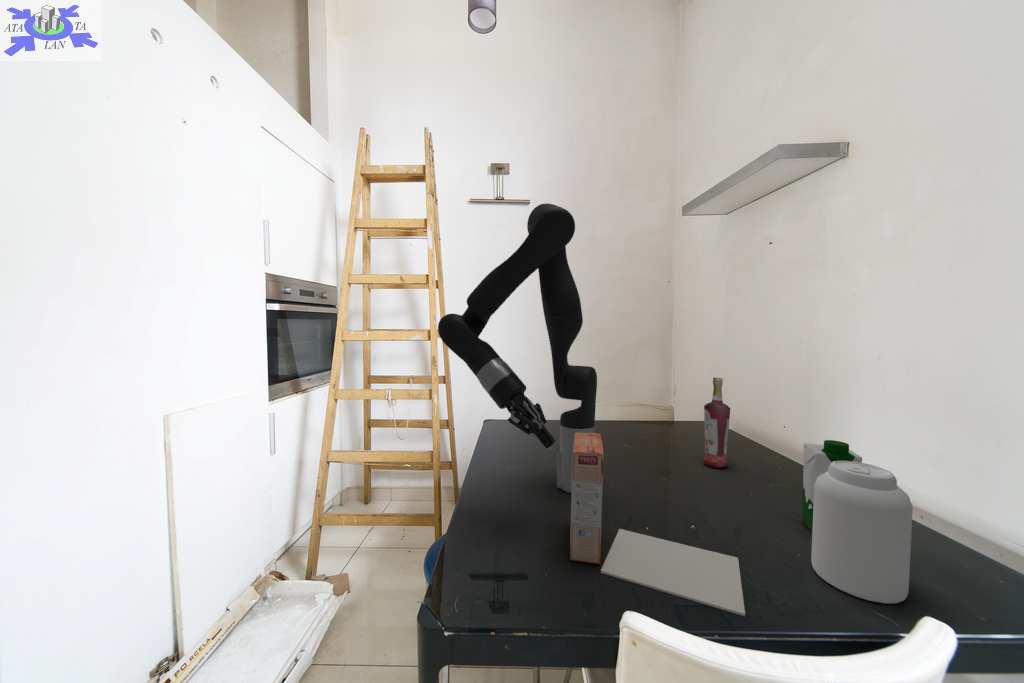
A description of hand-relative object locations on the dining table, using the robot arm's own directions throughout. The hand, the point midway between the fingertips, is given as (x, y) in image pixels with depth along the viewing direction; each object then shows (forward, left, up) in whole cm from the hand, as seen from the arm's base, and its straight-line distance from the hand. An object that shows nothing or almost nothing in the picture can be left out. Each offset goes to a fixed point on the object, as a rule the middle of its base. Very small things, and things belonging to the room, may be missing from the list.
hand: (551, 445), depth 80 cm
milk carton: (+53, +29, -19) cm, 63 cm away
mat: (+24, 0, -19) cm, 30 cm away
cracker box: (+8, 0, -19) cm, 21 cm away
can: (+53, +11, -19) cm, 57 cm away
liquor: (+32, +62, -19) cm, 72 cm away
